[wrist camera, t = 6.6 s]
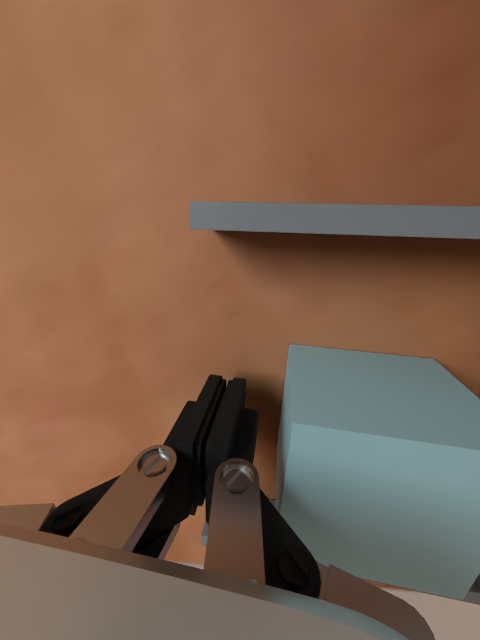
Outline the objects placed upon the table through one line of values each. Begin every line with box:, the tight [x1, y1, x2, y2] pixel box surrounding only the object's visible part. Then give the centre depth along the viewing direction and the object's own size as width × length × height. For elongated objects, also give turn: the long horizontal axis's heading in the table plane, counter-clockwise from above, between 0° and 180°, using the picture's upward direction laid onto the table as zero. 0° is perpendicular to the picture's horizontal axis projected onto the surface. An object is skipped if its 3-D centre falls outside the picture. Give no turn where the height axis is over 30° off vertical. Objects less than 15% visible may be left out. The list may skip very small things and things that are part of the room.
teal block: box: [275, 344, 480, 600], centre depth 10 cm, size 6×6×5 cm
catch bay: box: [190, 201, 480, 605], centre depth 11 cm, size 17×14×2 cm
